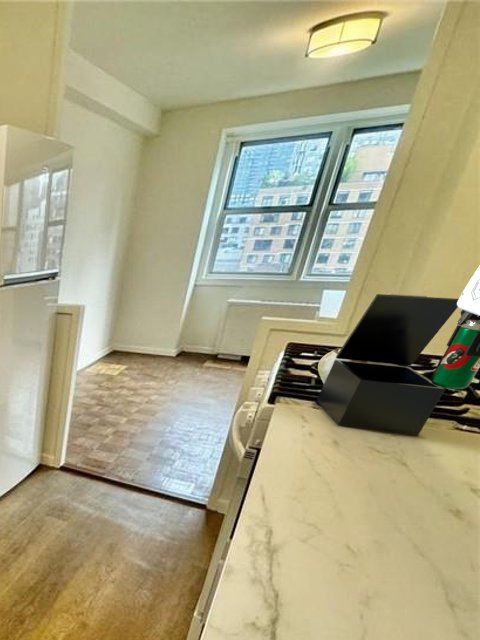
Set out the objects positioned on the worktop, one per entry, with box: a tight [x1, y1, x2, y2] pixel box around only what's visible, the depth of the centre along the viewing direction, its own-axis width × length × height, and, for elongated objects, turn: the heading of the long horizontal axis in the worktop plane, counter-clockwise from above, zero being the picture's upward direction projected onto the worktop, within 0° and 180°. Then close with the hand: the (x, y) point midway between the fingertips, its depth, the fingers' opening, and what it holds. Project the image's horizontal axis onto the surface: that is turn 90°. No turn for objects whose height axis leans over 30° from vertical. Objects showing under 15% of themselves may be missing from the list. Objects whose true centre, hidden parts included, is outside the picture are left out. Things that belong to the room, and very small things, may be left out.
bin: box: [315, 360, 446, 437], centre depth 109 cm, size 16×14×11 cm
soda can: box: [429, 320, 480, 390], centre depth 89 cm, size 5×5×12 cm
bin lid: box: [336, 293, 459, 367], centre depth 108 cm, size 16×14×5 cm
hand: (467, 350), depth 89 cm, fingers closed on soda can, 5 cm apart
